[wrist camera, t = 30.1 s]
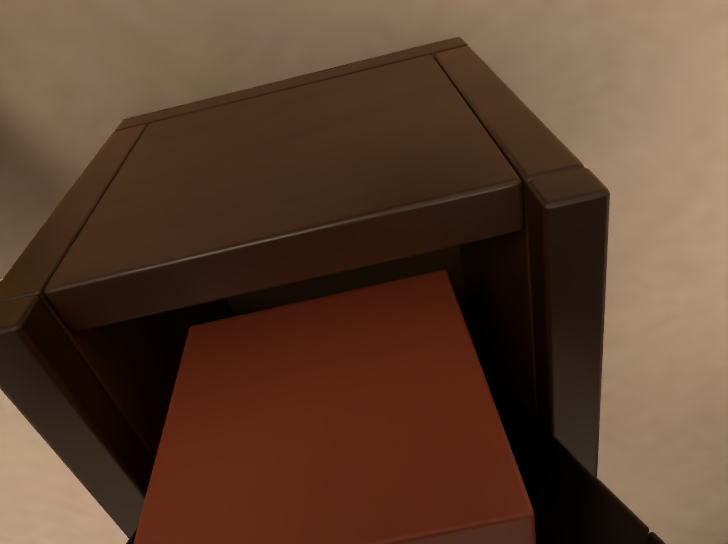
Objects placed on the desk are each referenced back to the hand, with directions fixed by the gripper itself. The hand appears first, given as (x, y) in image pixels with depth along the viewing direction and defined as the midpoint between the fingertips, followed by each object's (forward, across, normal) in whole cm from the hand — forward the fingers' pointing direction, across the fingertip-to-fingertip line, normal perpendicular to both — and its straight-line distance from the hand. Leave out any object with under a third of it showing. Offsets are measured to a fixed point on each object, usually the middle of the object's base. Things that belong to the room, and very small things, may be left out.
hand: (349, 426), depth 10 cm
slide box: (+7, 0, +3) cm, 7 cm away
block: (+1, 0, 0) cm, 1 cm away
